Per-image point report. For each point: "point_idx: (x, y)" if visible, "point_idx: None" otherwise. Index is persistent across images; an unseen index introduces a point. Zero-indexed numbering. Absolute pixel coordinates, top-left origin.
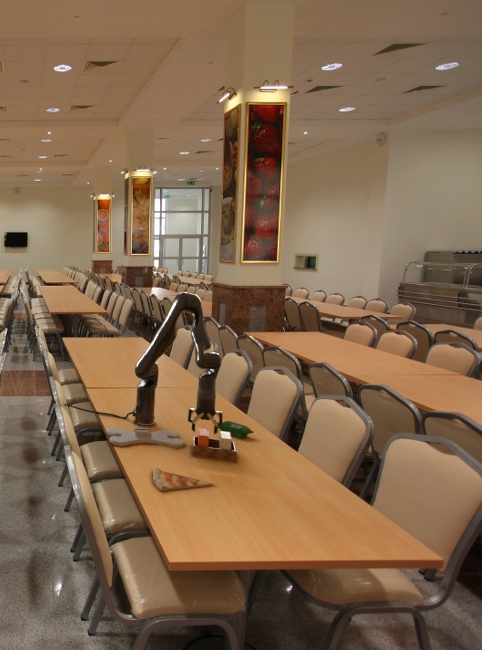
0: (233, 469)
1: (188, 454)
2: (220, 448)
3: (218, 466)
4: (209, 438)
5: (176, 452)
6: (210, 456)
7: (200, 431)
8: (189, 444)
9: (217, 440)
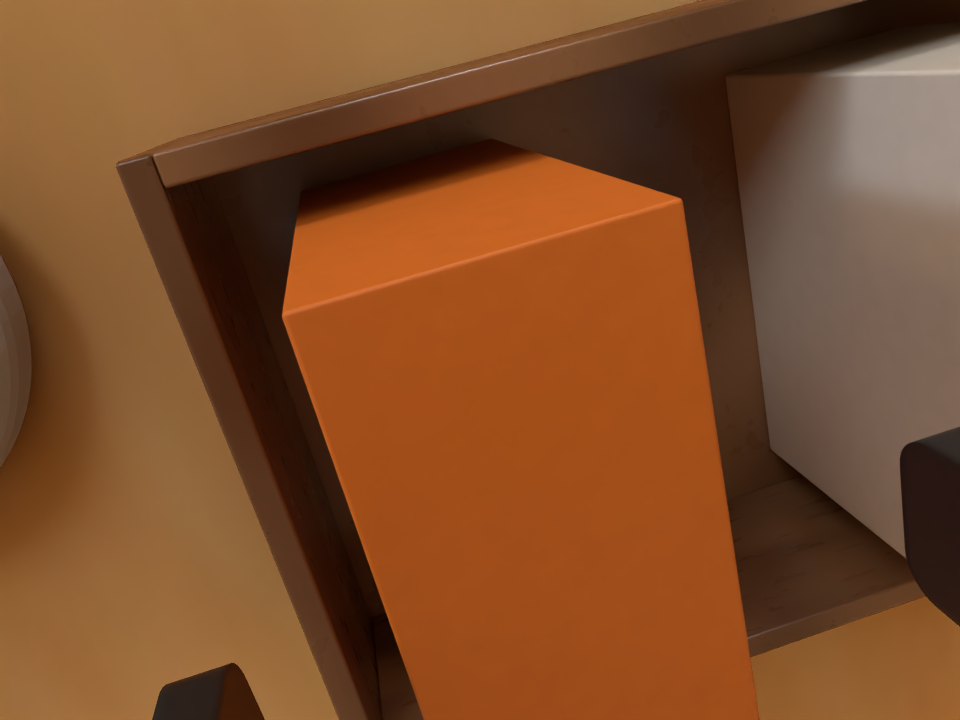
0: (936, 659)
1: (263, 600)
2: (870, 503)
3: (759, 702)
4: (595, 72)
5: (45, 658)
6: None
7: (459, 638)
8: (60, 56)
9: (792, 16)
